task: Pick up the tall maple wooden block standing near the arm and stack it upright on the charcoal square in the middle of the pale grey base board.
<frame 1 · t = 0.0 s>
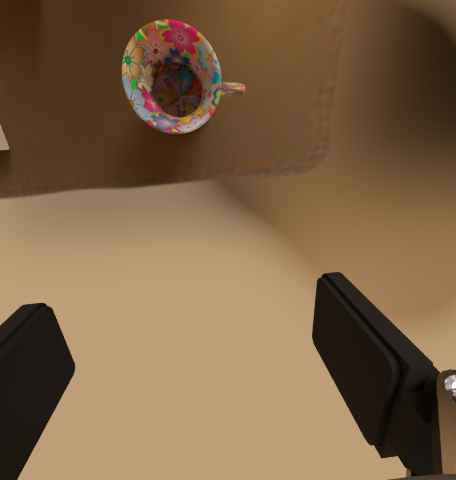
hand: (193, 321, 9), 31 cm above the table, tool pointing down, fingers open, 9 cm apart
mug: (191, 97, 34), on the table
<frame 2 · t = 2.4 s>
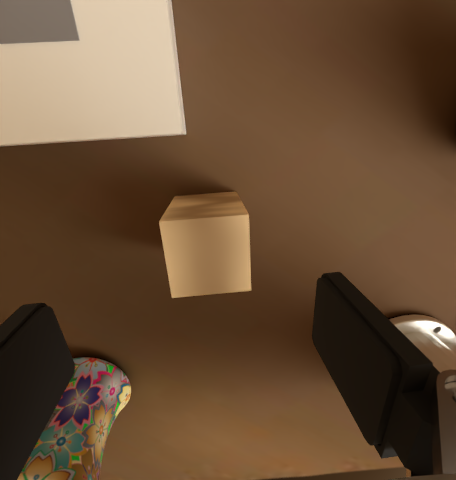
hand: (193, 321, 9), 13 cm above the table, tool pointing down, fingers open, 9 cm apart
maple block: (208, 222, 21), on the table
mug: (95, 388, 27), on the table
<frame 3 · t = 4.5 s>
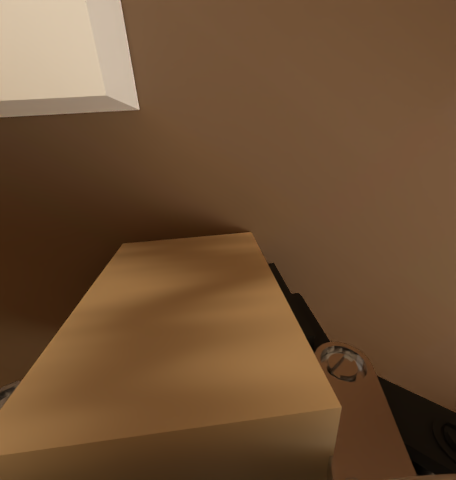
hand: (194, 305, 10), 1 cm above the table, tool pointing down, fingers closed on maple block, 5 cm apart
maple block: (195, 291, 11), on the table, touching gripper
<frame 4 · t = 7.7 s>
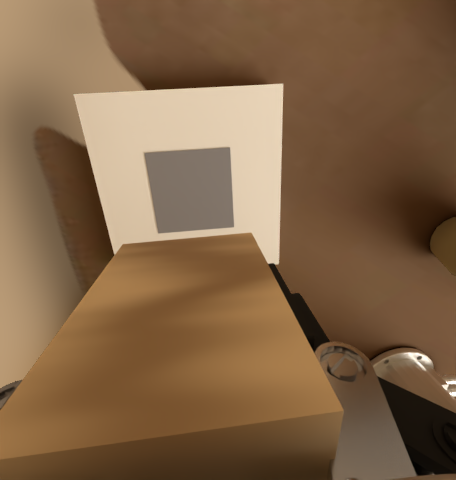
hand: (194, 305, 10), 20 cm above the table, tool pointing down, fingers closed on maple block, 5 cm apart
squeeze bottle: (448, 236, 33), on the table
maple block: (195, 292, 11), point 19 cm above the table, touching gripper
base board: (193, 187, 28), on the table
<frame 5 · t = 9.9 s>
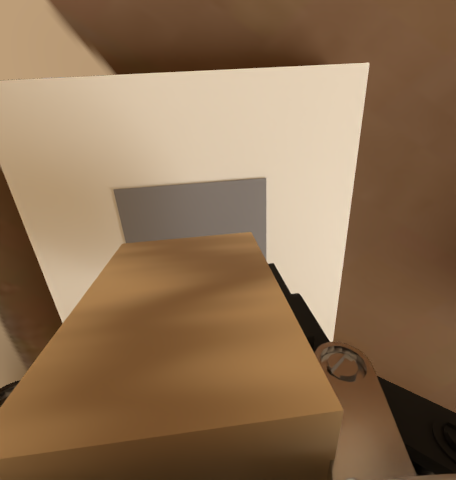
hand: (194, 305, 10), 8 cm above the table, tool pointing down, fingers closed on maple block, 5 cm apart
maple block: (194, 291, 11), point 7 cm above the table, touching gripper
base board: (199, 233, 17), on the table
when the fingers open (5 cm above the table, at t = 11.3 s): maple block drops 1 cm, resting on base board.
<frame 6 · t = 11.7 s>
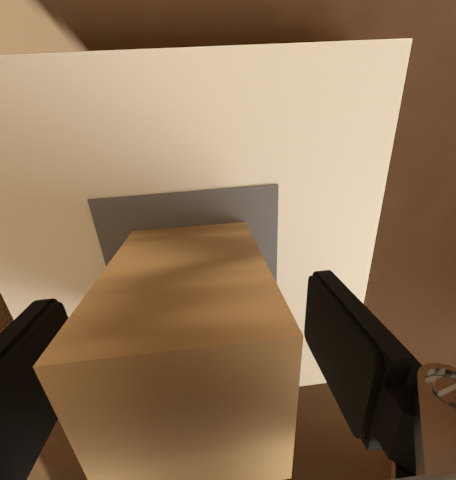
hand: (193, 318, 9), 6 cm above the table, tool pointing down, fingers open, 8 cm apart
maple block: (195, 275, 12), point 3 cm above the table, touching base board
base board: (196, 248, 15), on the table
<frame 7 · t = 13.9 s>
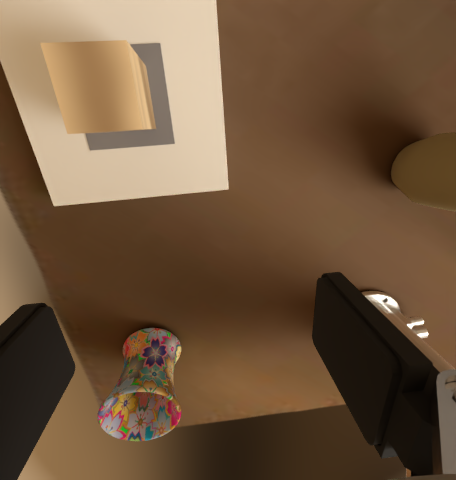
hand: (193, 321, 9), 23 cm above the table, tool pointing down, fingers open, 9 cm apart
squeeze bottle: (410, 166, 32), on the table
maple block: (122, 100, 22), point 3 cm above the table, touching base board
base board: (130, 103, 25), on the table
mug: (154, 350, 39), on the table
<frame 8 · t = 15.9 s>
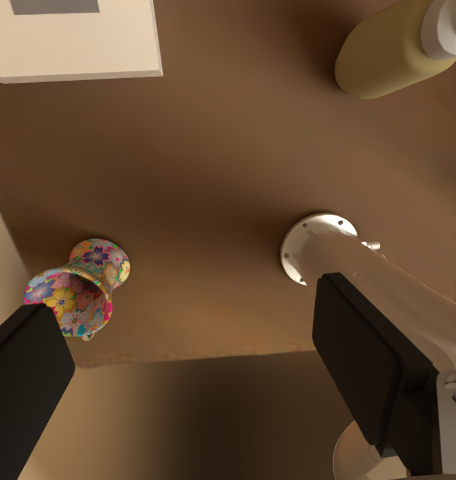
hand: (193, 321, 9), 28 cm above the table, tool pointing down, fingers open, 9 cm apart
squeeze bottle: (355, 67, 32), on the table
mug: (104, 269, 39), on the table
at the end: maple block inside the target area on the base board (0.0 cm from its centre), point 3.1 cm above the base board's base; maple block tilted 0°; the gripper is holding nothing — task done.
